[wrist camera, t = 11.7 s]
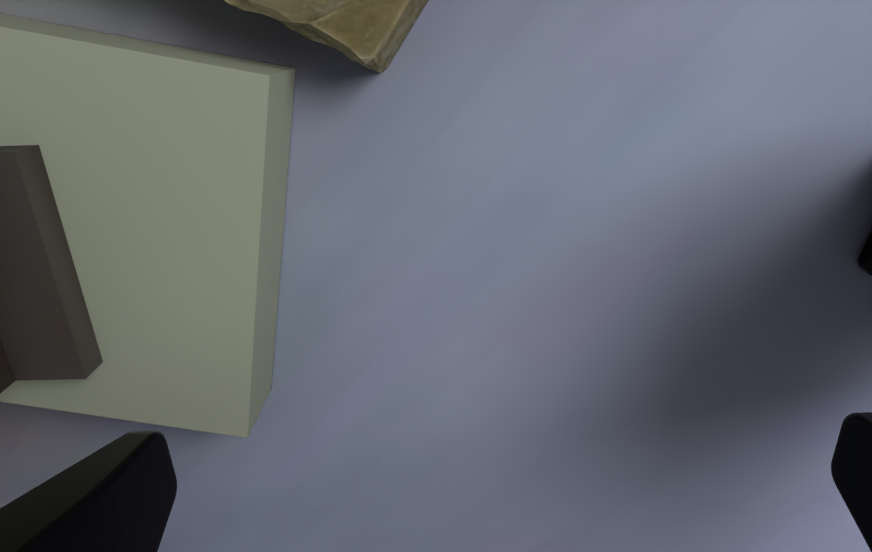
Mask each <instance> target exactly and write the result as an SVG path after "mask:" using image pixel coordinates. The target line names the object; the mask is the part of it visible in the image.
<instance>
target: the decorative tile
mask: <svg viewBox="0 0 872 552" xmlns="http://www.w3.org/2000/svg"><path fill="white" fill-rule="evenodd" d="M224 1H226V2H227V3H228V4H230V5H233V6H235V7H237V8H239V9H241V10H244V11H249V12H255V13H260V14H263V15H266V16H268V17H271V18H274V19H276V20H279V21H280V22H281V23H282V24H284V25H285V26H286V27H288V28H289V29H291V30H293V31H296V32H298V33H299V34H301V35H302V36H303V37H305V38H306V39H309V40H312V41H315V42H318V43H321V44H324V45H327V46H330V47H332V48H335V49H337V50H339V51H341V52H342V53H343V54H344V55H345V56H346V57H348V58H349V59H350V60H352V61H355V62H357V63H359V64H361V65H363V66H365V67H366V68H368V69H372V70H374V71H376V72H378V73H382V72H383V71H384V70H385V69H387V67H388V66H389V64H390V63H391V61H392V60H393V58H394V56H395V55H396V53H397V51H398V50H399V48H400V46H401V45H402V43H403V41H404V40H405V38H406V37H407V35H408V33H409V32H410V30H411V28H412V27H413V25H414V23H415V22H416V20H417V18H418V17H419V15H420V13H421V12H422V10H423V8H424V7H425V5H426V4H427V2H428V0H224Z"/></svg>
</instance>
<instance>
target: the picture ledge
mask: <svg viewBox="0 0 872 552" xmlns="http://www.w3.org/2000/svg"><path fill="white" fill-rule="evenodd" d="M295 71H296V68H293V67H287V66H282V65H276V64H271V63H265V62H260V61H254V60H249V59H243V58H238V57H232V56H227V55H222V54H216V53H211V52H205V51H200V50H194V49H189V48H183V47H178V46H172V45H167V44H162V43H156V42H151V41H145V40H140V39H134V38H129V37H123V36H118V35H112V34H107V33H101V32H96V31H91V30H85V29H80V28H74V27H69V26H63V25H58V24H52V23H47V22H41V21H36V20H31V19H25V18H20V17H14V16H9V15H3V14H0V146H17V145H39V147H40V150H41V154H42V157H43V160H44V164H45V167H46V171H47V174H48V177H49V181H50V184H51V188H52V191H53V194H54V198H55V201H56V204H57V208H58V211H59V215H60V218H61V221H62V225H63V228H64V232H65V235H66V238H67V242H68V245H69V248H70V252H71V255H72V259H73V262H74V265H75V269H76V272H77V276H78V279H79V282H80V286H81V289H82V292H83V296H84V299H85V303H86V306H87V309H88V313H89V316H90V320H91V323H92V326H93V330H94V333H95V337H96V340H97V343H98V347H99V350H100V353H101V357H102V360H103V363H102V364H101V365H100V366H99V367H98V368H97V369H96V370H94V371H93V372H92V373H91V374H90V375H89V376H88V377H87V378H86V379H67V380H22V381H15V382H14V383H12V384H11V385H10V386H9V387H8V388H6V389H5V390H4V391H3V392H2V393H0V402H6V403H13V404H19V405H26V406H33V407H40V408H47V409H53V410H60V411H67V412H74V413H81V414H87V415H94V416H101V417H108V418H115V419H121V420H128V421H135V422H142V423H149V424H155V425H162V426H169V427H176V428H183V429H189V430H196V431H203V432H210V433H217V434H223V435H230V436H237V437H244V438H248V436H249V434H250V432H251V430H252V428H253V426H254V424H255V422H256V420H257V417H258V415H259V413H260V411H261V409H262V407H263V405H264V403H265V401H266V398H267V396H268V394H269V392H270V390H271V385H272V372H273V359H274V346H275V333H276V320H277V307H278V294H279V280H280V267H281V254H282V241H283V228H284V215H285V202H286V189H287V176H288V163H289V150H290V137H291V124H292V110H293V97H294V84H295Z"/></svg>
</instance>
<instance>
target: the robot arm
mask: <svg viewBox="0 0 872 552" xmlns="http://www.w3.org/2000/svg"><path fill="white" fill-rule="evenodd" d="M858 266H859V267H860V268H861V270H863V271H865V272H866V273H868V274H870V275H872V231H871V233H870V235H869V237H868V239H867V241H866V243H865V245H864V247H863V249H862V251H861V253H860V256H859V259H858ZM831 471H832V476H833V480H834V482H835V484H836V486H837V488H838V490H839V492H840V494H841V496H842V498H843V500H844V501H845V503H846V505H847V507H848V509H849V511H850V513H851V515H852V516H853V518H854V520H855V522H856V524H857V526H858V528H859V530H860V531H861V533H862V535H863V537H864V539H865V541H866V543H867V545H868V546H869V548H870V550H871V552H872V412H867V413H852V414H850V415H848V416H847V417H846V418H845V419H844V421H843V423H842V426H841V430H840V433H839V437H838V440H837V444H836V447H835V451H834V455H833V458H832V462H831ZM176 491H177V480H176V475H175V471H174V467H173V464H172V460H171V456H170V453H169V449H168V445H167V442H166V439H165V437H164V435H163V434H162V433H160V432H158V431H136V432H129V433H127V434H125V435H123V436H121V437H120V438H118V439H116V440H115V441H113V442H111V443H110V444H108V445H106V446H104V447H103V448H101V449H99V450H98V451H96V452H94V453H93V454H91V455H89V456H88V457H86V458H84V459H83V460H81V461H79V462H78V463H76V464H74V465H73V466H71V467H69V468H68V469H66V470H64V471H62V472H61V473H59V474H57V475H56V476H54V477H52V478H51V479H49V480H47V481H46V482H44V483H42V484H41V485H39V486H37V487H36V488H34V489H32V490H31V491H29V492H27V493H26V494H24V495H22V496H21V497H19V498H17V499H15V500H14V501H12V502H10V503H9V504H7V505H5V506H4V507H2V508H0V552H157V551H158V548H159V545H160V542H161V539H162V536H163V533H164V530H165V527H166V524H167V521H168V518H169V515H170V512H171V509H172V506H173V503H174V500H175V496H176Z"/></svg>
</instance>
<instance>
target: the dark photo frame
mask: <svg viewBox="0 0 872 552" xmlns="http://www.w3.org/2000/svg"><path fill="white" fill-rule="evenodd" d="M102 363H103V360H102V357H101V353H100V350H99V347H98V343H97V340H96V337H95V333H94V330H93V326H92V323H91V320H90V316H89V313H88V309H87V306H86V303H85V299H84V296H83V292H82V289H81V286H80V282H79V279H78V276H77V272H76V269H75V265H74V262H73V259H72V255H71V252H70V248H69V245H68V242H67V238H66V235H65V232H64V228H63V225H62V221H61V218H60V215H59V211H58V208H57V204H56V201H55V198H54V194H53V191H52V188H51V184H50V181H49V177H48V174H47V171H46V167H45V164H44V160H43V157H42V154H41V150H40V147H39V145H17V146H0V393H2V392H3V391H4V390H5V389H6V388H8V387H9V386H10V385H11V384H12V383H14V382H15V381H22V380H67V379H86V378H87V377H88V376H89V375H90V374H91V373H92V372H93V371H94V370H96V369H97V368H98V367H99V366H100V365H101V364H102Z"/></svg>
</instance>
